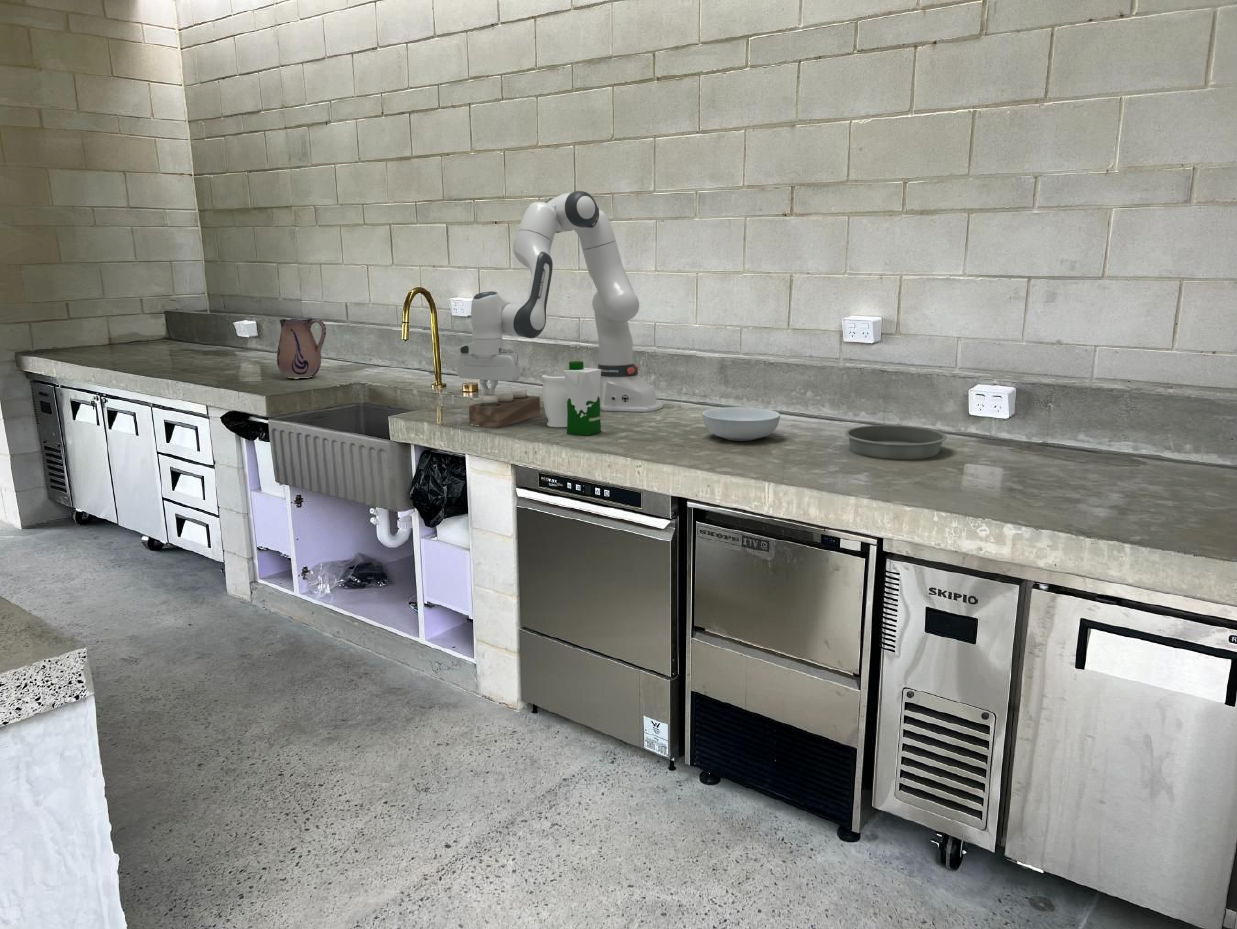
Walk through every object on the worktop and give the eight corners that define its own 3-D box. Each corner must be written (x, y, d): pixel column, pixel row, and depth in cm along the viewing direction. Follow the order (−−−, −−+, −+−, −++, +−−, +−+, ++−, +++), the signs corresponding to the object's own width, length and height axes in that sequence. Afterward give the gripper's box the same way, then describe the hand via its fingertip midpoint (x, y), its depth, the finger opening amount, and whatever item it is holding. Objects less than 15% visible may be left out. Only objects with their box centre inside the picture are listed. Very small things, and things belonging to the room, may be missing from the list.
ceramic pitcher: (284, 376, 400) (278, 317, 395) (334, 375, 402) (329, 316, 397) (274, 381, 383) (268, 320, 378) (326, 380, 385) (321, 319, 380)
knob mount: (540, 415, 293) (539, 396, 292) (498, 428, 272) (497, 407, 271) (513, 413, 297) (512, 394, 296) (469, 425, 276) (468, 405, 275)
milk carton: (579, 429, 269) (578, 359, 264) (606, 431, 264) (604, 361, 260) (562, 434, 262) (560, 363, 257) (588, 436, 257) (587, 364, 252)
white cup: (551, 429, 268) (550, 378, 265) (537, 424, 277) (536, 374, 274) (584, 426, 273) (583, 375, 270) (570, 421, 282) (569, 371, 279)
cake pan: (837, 457, 227) (838, 439, 226) (851, 439, 250) (851, 422, 249) (944, 464, 219) (945, 445, 218) (947, 444, 241) (948, 427, 240)
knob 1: (502, 415, 278) (501, 394, 277) (493, 418, 274) (492, 396, 272) (488, 414, 280) (487, 393, 279) (479, 417, 276) (478, 395, 275)
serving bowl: (726, 448, 240) (727, 422, 238) (688, 434, 258) (688, 410, 257) (794, 441, 248) (795, 415, 246) (753, 428, 266) (753, 404, 265)
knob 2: (530, 410, 292) (529, 389, 291) (522, 412, 288) (521, 391, 287) (517, 409, 294) (516, 388, 293) (509, 411, 290) (508, 391, 289)
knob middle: (516, 414, 285) (515, 393, 284) (508, 416, 281) (507, 395, 280) (503, 413, 287) (502, 392, 286) (494, 415, 283) (493, 394, 282)
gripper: (523, 348, 271) (524, 395, 274) (465, 345, 280) (467, 391, 283) (511, 350, 265) (513, 398, 268) (453, 347, 274) (455, 394, 277)
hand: (489, 394), depth 276 cm, fingers closed
